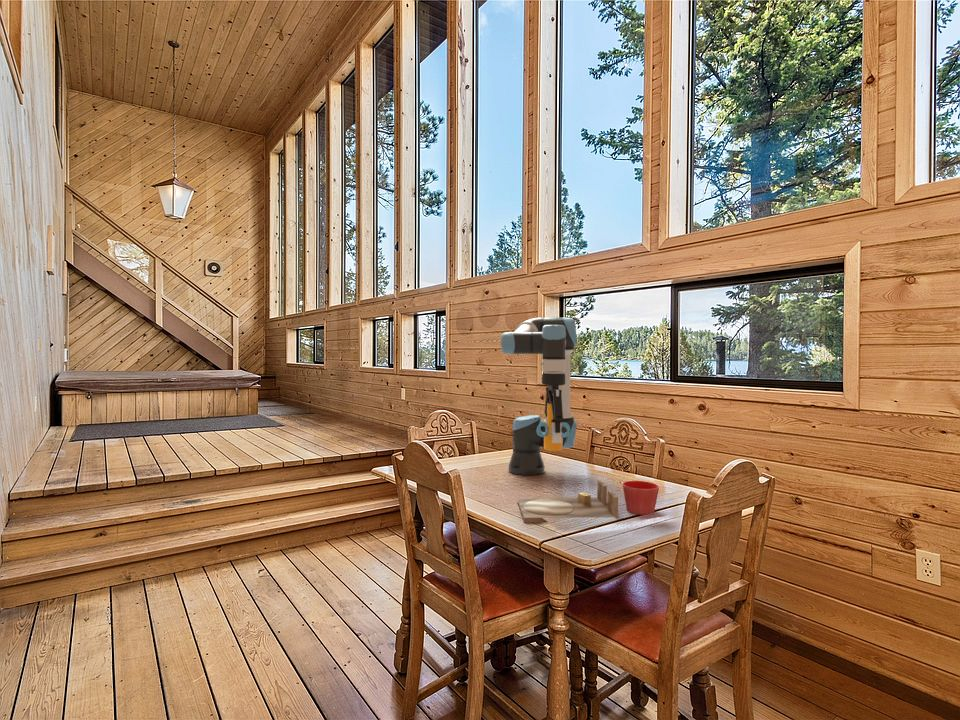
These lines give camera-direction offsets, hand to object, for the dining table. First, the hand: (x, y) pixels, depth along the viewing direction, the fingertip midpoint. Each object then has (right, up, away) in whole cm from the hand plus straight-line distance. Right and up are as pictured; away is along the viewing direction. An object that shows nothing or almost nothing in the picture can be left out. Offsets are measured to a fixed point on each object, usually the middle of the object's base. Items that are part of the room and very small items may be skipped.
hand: (553, 439), depth 171 cm
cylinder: (0, -3, 0) cm, 3 cm away
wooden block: (+11, -21, +3) cm, 24 cm away
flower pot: (+27, -23, -4) cm, 36 cm away
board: (+4, -23, -1) cm, 23 cm away
